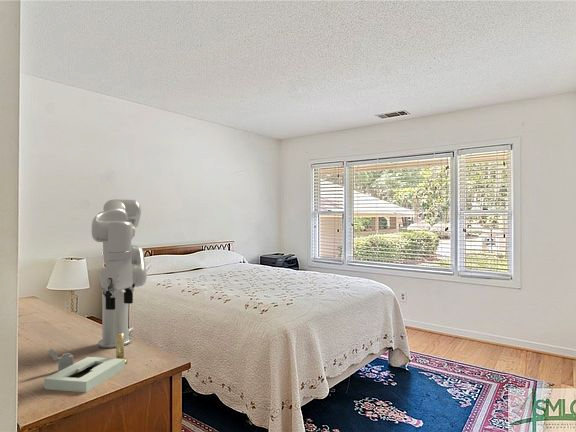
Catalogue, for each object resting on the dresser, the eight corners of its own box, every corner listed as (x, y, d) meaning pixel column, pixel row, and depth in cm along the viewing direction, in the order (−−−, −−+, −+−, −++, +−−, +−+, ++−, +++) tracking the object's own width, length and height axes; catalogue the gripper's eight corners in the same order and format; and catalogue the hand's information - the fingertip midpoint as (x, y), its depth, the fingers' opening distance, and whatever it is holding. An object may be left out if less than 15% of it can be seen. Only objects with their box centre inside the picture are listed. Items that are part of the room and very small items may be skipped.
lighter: (72, 367, 124) (72, 343, 124) (73, 369, 122) (73, 344, 123) (47, 372, 120) (47, 348, 120) (47, 374, 118) (47, 349, 118)
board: (88, 365, 125) (88, 356, 125) (125, 368, 123) (125, 359, 123) (44, 389, 108) (44, 378, 108) (86, 392, 105) (86, 381, 105)
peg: (118, 361, 129) (118, 331, 129) (129, 362, 128) (129, 332, 128) (110, 366, 125) (110, 335, 125) (121, 366, 124) (121, 335, 124)
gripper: (125, 254, 136) (125, 300, 136) (92, 259, 119) (92, 311, 119) (143, 254, 135) (143, 301, 134) (113, 259, 118) (113, 312, 117)
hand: (119, 306), depth 127 cm, fingers open, 9 cm apart
